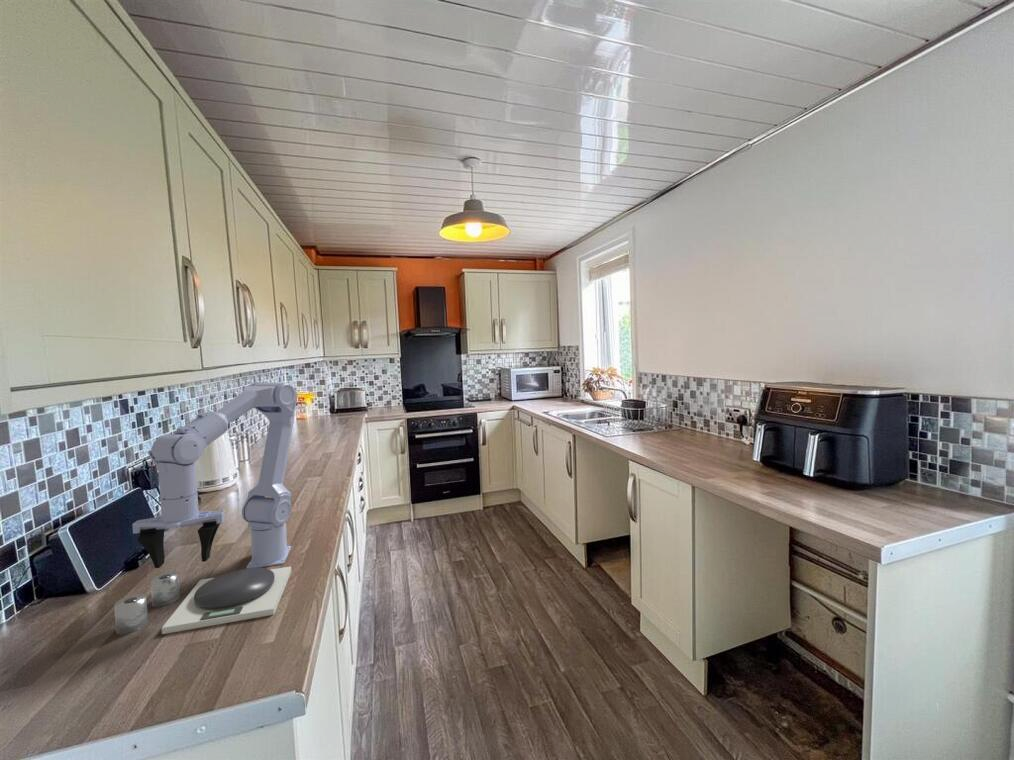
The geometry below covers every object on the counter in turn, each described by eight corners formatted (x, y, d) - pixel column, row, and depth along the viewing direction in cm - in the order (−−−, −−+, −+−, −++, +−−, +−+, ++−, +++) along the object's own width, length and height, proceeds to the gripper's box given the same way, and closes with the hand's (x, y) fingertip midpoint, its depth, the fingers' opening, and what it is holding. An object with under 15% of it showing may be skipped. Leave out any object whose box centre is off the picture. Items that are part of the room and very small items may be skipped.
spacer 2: (158, 596, 86) (157, 573, 86) (183, 592, 88) (182, 569, 87) (147, 608, 82) (145, 584, 82) (173, 604, 83) (172, 580, 83)
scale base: (200, 584, 91) (200, 577, 90) (291, 571, 96) (291, 564, 96) (162, 634, 74) (161, 625, 74) (273, 614, 80) (273, 606, 80)
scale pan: (210, 577, 91) (209, 573, 91) (281, 566, 95) (280, 563, 95) (181, 614, 77) (180, 610, 77) (265, 601, 81) (265, 597, 81)
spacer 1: (124, 621, 78) (122, 595, 78) (152, 617, 79) (151, 591, 79) (110, 636, 74) (108, 609, 74) (140, 631, 75) (138, 604, 75)
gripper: (121, 506, 74) (126, 579, 75) (215, 497, 79) (218, 565, 80) (141, 494, 81) (146, 561, 82) (227, 486, 86) (230, 549, 87)
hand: (183, 562), depth 81 cm, fingers open, 7 cm apart
